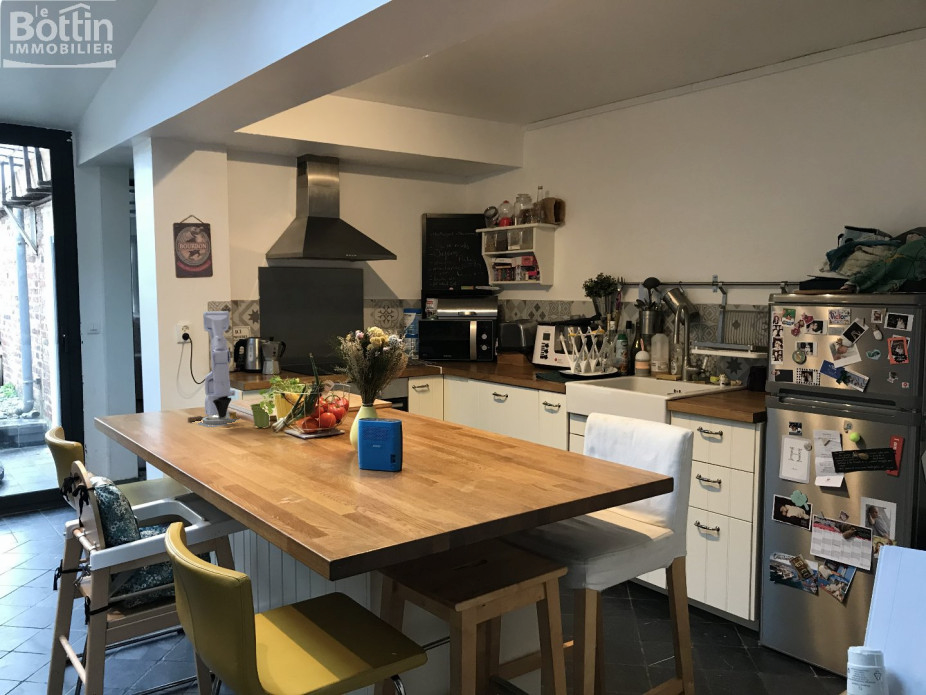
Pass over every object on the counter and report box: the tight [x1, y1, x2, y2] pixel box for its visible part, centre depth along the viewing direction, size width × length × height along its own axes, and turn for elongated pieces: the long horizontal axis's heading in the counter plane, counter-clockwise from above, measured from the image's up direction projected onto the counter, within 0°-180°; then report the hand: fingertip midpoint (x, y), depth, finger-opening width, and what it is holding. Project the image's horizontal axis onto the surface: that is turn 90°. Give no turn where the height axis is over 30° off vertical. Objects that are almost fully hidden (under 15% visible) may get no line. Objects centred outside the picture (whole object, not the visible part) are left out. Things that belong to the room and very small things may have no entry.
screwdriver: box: [187, 415, 209, 423], centre depth 295 cm, size 12×2×2 cm, turn 138°
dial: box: [208, 410, 237, 420], centre depth 290 cm, size 15×8×5 cm, turn 48°
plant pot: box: [249, 403, 269, 427], centre depth 284 cm, size 9×9×9 cm
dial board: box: [198, 416, 239, 428], centre depth 293 cm, size 18×18×2 cm
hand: (222, 416), depth 286 cm, fingers closed
